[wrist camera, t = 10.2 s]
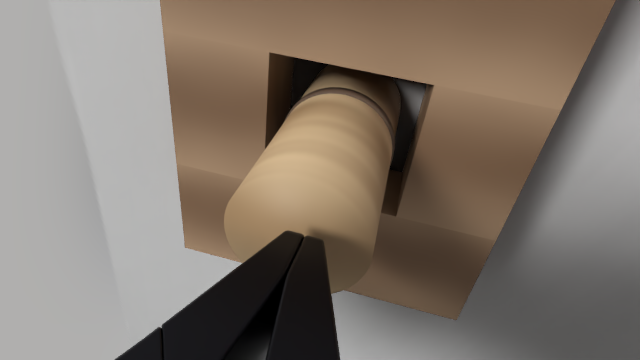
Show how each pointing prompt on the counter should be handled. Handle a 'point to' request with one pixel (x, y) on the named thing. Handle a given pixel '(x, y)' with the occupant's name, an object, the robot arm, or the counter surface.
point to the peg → (323, 173)
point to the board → (430, 130)
